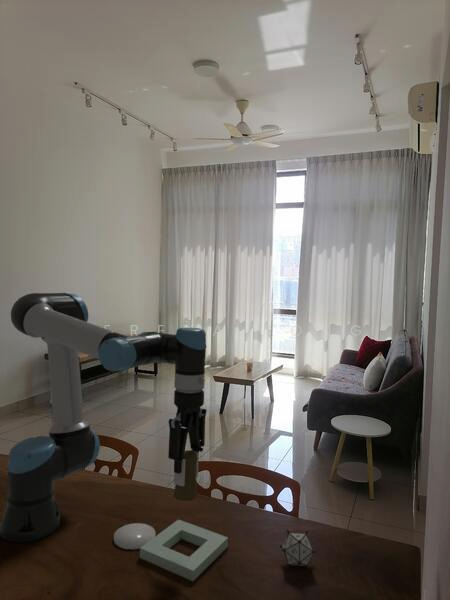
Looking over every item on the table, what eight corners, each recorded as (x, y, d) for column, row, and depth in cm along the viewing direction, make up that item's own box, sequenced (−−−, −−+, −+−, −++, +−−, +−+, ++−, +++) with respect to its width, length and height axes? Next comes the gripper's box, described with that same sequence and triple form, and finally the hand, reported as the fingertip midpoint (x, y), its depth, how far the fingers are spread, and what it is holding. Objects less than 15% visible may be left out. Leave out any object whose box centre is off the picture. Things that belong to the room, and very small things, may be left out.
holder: (139, 557, 109) (140, 547, 109) (178, 528, 123) (178, 519, 123) (193, 581, 101) (193, 570, 101) (227, 546, 115) (228, 537, 115)
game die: (300, 584, 107) (305, 568, 100) (271, 560, 111) (274, 543, 104) (318, 553, 112) (324, 536, 106) (290, 532, 116) (294, 514, 110)
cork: (193, 502, 108) (195, 458, 108) (170, 498, 109) (172, 455, 109) (200, 491, 114) (201, 449, 114) (177, 488, 115) (179, 446, 115)
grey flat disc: (104, 540, 116) (104, 537, 116) (133, 522, 125) (133, 519, 125) (136, 554, 110) (136, 551, 110) (163, 534, 120) (163, 531, 120)
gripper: (180, 399, 101) (176, 498, 102) (220, 385, 117) (217, 471, 117) (154, 394, 105) (151, 490, 105) (197, 381, 120) (194, 464, 121)
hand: (186, 480), depth 111 cm, fingers closed on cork, 5 cm apart
